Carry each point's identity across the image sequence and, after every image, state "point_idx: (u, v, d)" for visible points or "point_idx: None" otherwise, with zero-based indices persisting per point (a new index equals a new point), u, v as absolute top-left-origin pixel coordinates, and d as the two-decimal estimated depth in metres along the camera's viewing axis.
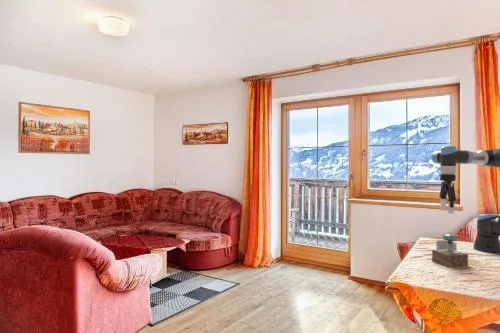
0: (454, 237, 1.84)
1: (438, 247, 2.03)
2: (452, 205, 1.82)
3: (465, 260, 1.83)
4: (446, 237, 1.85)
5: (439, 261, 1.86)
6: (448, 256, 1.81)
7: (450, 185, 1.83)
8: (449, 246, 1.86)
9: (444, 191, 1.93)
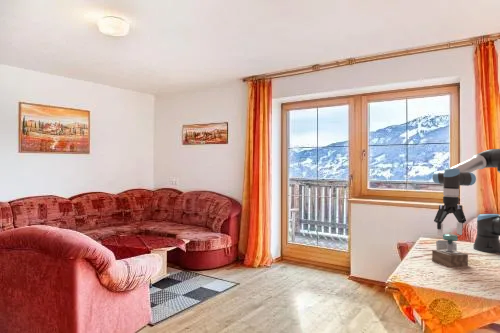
0: (454, 237, 1.84)
1: (438, 247, 2.03)
2: (438, 227, 1.84)
3: (465, 260, 1.83)
4: (446, 237, 1.85)
5: (439, 261, 1.86)
6: (448, 256, 1.81)
7: (439, 207, 1.85)
8: (449, 246, 1.86)
9: (454, 214, 1.88)
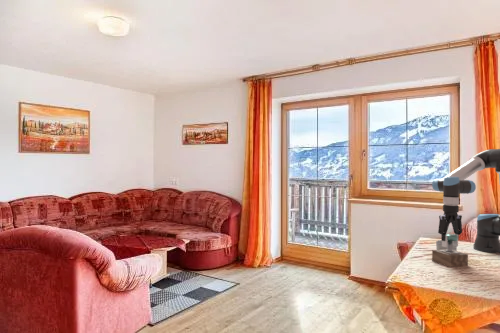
0: (454, 237, 1.84)
1: (438, 247, 2.03)
2: (442, 238, 1.85)
3: (465, 260, 1.83)
4: None
5: (439, 261, 1.86)
6: (448, 256, 1.81)
7: (440, 218, 1.86)
8: (449, 246, 1.86)
9: (452, 223, 1.88)
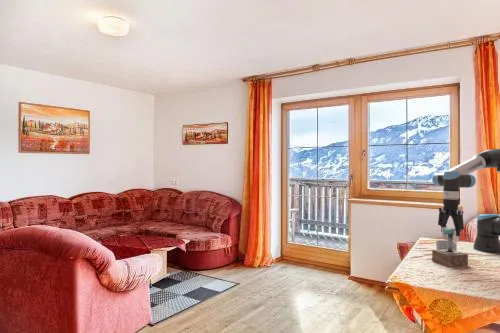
0: None
1: (438, 247, 2.03)
2: (459, 234, 1.82)
3: (465, 260, 1.83)
4: None
5: (439, 261, 1.86)
6: (448, 256, 1.81)
7: (460, 213, 1.81)
8: (452, 240, 1.86)
9: (446, 217, 1.89)
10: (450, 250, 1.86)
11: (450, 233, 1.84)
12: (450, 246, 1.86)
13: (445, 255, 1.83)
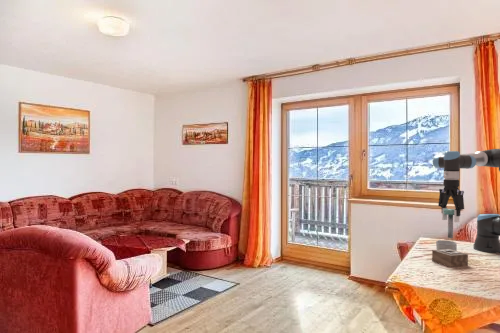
0: None
1: (438, 247, 2.03)
2: (459, 214, 1.82)
3: (465, 260, 1.83)
4: None
5: (439, 261, 1.86)
6: (448, 256, 1.81)
7: (460, 193, 1.80)
8: None
9: (446, 198, 1.89)
10: (450, 230, 1.86)
11: (450, 213, 1.84)
12: (450, 226, 1.86)
13: (445, 255, 1.83)
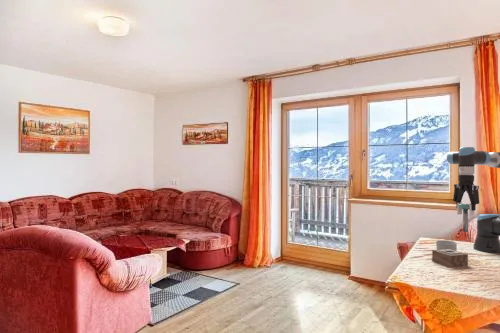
0: None
1: (438, 247, 2.03)
2: (474, 208, 1.86)
3: (465, 260, 1.83)
4: None
5: (439, 261, 1.86)
6: (448, 256, 1.81)
7: (476, 188, 1.85)
8: (467, 215, 1.91)
9: (461, 193, 1.93)
10: (465, 225, 1.90)
11: (466, 208, 1.88)
12: (465, 221, 1.90)
13: (445, 255, 1.83)
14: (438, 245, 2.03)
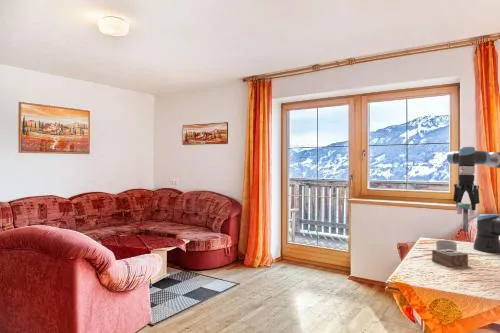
0: None
1: (438, 247, 2.03)
2: (474, 208, 1.86)
3: (465, 260, 1.83)
4: None
5: (439, 261, 1.86)
6: (448, 256, 1.81)
7: (476, 188, 1.85)
8: None
9: (461, 192, 1.93)
10: (465, 224, 1.91)
11: (466, 207, 1.88)
12: (465, 220, 1.91)
13: (445, 255, 1.83)
14: (438, 245, 2.03)
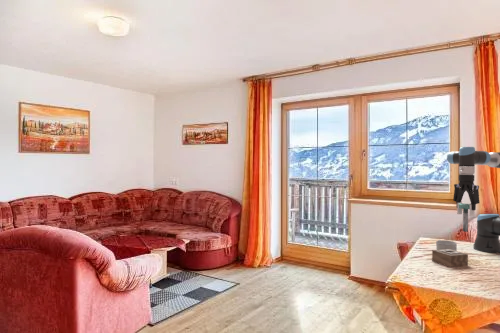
0: None
1: (438, 247, 2.03)
2: (474, 208, 1.86)
3: (465, 260, 1.83)
4: None
5: (439, 261, 1.86)
6: (448, 256, 1.81)
7: (476, 188, 1.85)
8: None
9: (461, 192, 1.93)
10: (465, 224, 1.91)
11: (466, 207, 1.88)
12: (465, 220, 1.91)
13: (445, 255, 1.83)
14: (438, 245, 2.03)
